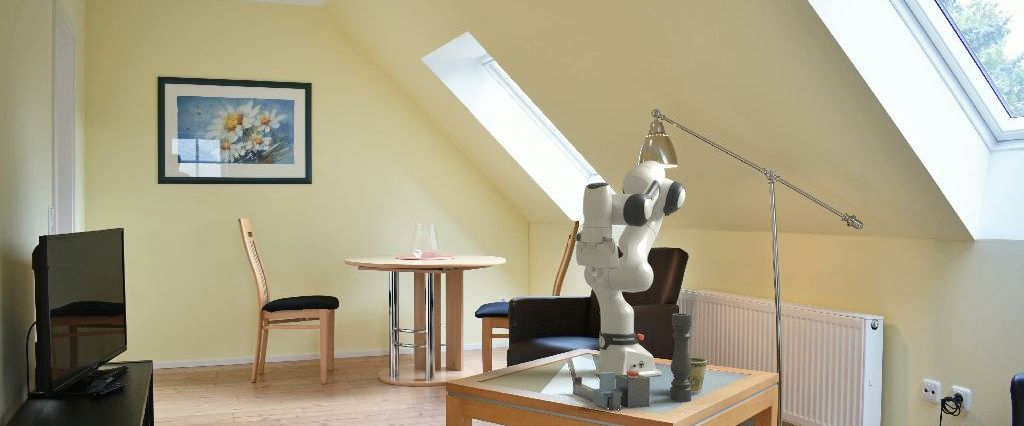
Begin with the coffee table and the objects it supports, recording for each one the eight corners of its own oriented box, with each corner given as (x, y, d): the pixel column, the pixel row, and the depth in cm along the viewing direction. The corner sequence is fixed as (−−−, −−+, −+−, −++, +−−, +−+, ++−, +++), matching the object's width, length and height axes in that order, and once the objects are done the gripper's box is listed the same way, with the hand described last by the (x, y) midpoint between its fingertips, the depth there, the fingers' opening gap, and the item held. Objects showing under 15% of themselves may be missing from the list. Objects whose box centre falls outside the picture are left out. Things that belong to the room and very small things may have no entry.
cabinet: (636, 401, 258) (636, 373, 258) (649, 406, 251) (649, 378, 251) (615, 402, 255) (615, 375, 255) (627, 408, 248) (628, 379, 248)
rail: (580, 393, 268) (580, 376, 268) (620, 410, 246) (620, 392, 246) (573, 393, 267) (573, 376, 267) (612, 410, 245) (613, 392, 245)
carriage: (610, 401, 254) (611, 370, 254) (621, 406, 249) (621, 374, 249) (592, 403, 252) (592, 371, 252) (602, 407, 246) (603, 375, 246)
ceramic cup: (699, 397, 265) (700, 363, 265) (668, 392, 270) (668, 360, 270) (714, 389, 276) (714, 357, 276) (683, 385, 281) (684, 354, 281)
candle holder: (667, 397, 263) (668, 313, 263) (687, 397, 264) (689, 313, 264) (673, 402, 257) (674, 315, 257) (693, 401, 258) (695, 315, 258)
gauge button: (634, 390, 255) (634, 370, 255) (640, 392, 252) (641, 372, 252) (624, 391, 254) (624, 371, 254) (630, 393, 251) (630, 373, 251)
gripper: (624, 238, 258) (623, 285, 259) (590, 235, 277) (590, 279, 277) (605, 238, 256) (604, 286, 256) (572, 235, 275) (572, 279, 275)
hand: (597, 282), depth 267 cm, fingers closed
